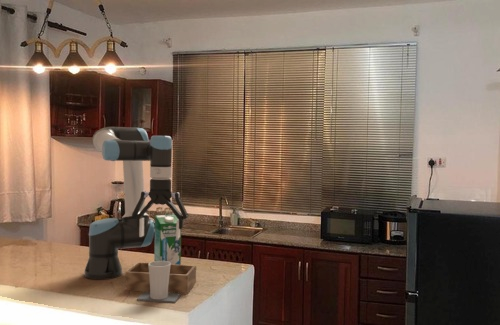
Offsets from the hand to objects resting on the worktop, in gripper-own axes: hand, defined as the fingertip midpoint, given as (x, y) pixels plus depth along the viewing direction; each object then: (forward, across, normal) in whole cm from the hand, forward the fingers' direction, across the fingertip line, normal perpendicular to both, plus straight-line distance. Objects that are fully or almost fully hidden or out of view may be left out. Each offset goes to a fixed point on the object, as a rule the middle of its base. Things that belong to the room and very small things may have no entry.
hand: (159, 237), depth 160 cm
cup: (+22, 0, 0) cm, 22 cm away
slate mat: (+22, 0, 0) cm, 22 cm away
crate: (+22, -3, +13) cm, 26 cm away
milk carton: (+23, -6, +30) cm, 38 cm away
